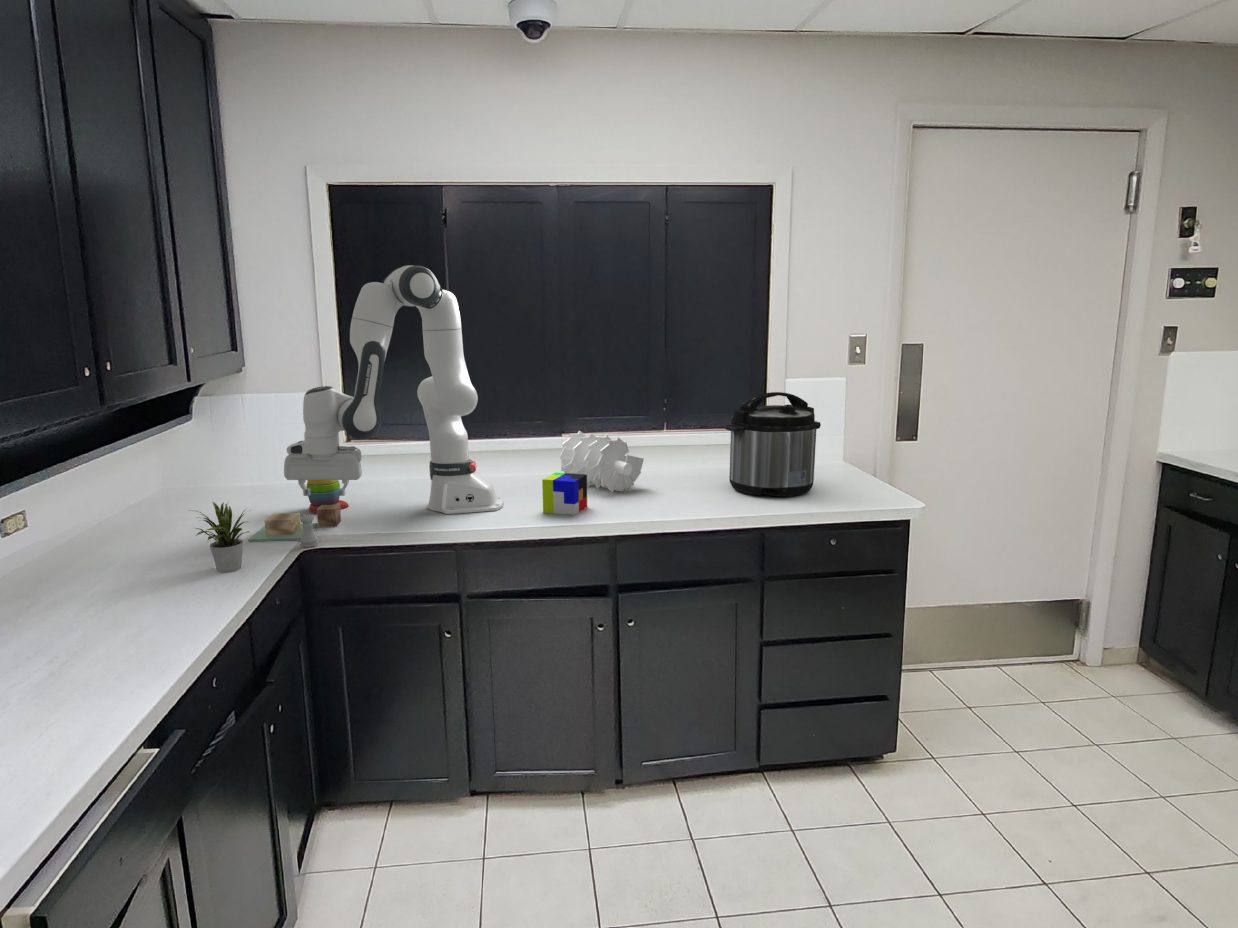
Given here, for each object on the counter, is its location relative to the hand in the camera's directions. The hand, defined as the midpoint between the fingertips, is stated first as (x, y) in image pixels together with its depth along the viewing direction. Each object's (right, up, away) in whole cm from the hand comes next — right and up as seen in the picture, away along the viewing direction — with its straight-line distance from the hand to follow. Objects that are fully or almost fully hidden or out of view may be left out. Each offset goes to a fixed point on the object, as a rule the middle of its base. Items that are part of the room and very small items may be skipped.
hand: (324, 495), depth 226 cm
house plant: (-11, -16, -34) cm, 39 cm away
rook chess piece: (+2, -12, -17) cm, 21 cm away
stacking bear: (-6, -5, +17) cm, 19 cm away
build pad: (-9, -10, -6) cm, 15 cm away
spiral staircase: (+75, +1, +44) cm, 87 cm away
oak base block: (-9, -9, -7) cm, 14 cm away
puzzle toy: (+66, -5, +16) cm, 68 cm away
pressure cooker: (+131, 0, +41) cm, 137 cm away
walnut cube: (+1, -8, +2) cm, 8 cm away
